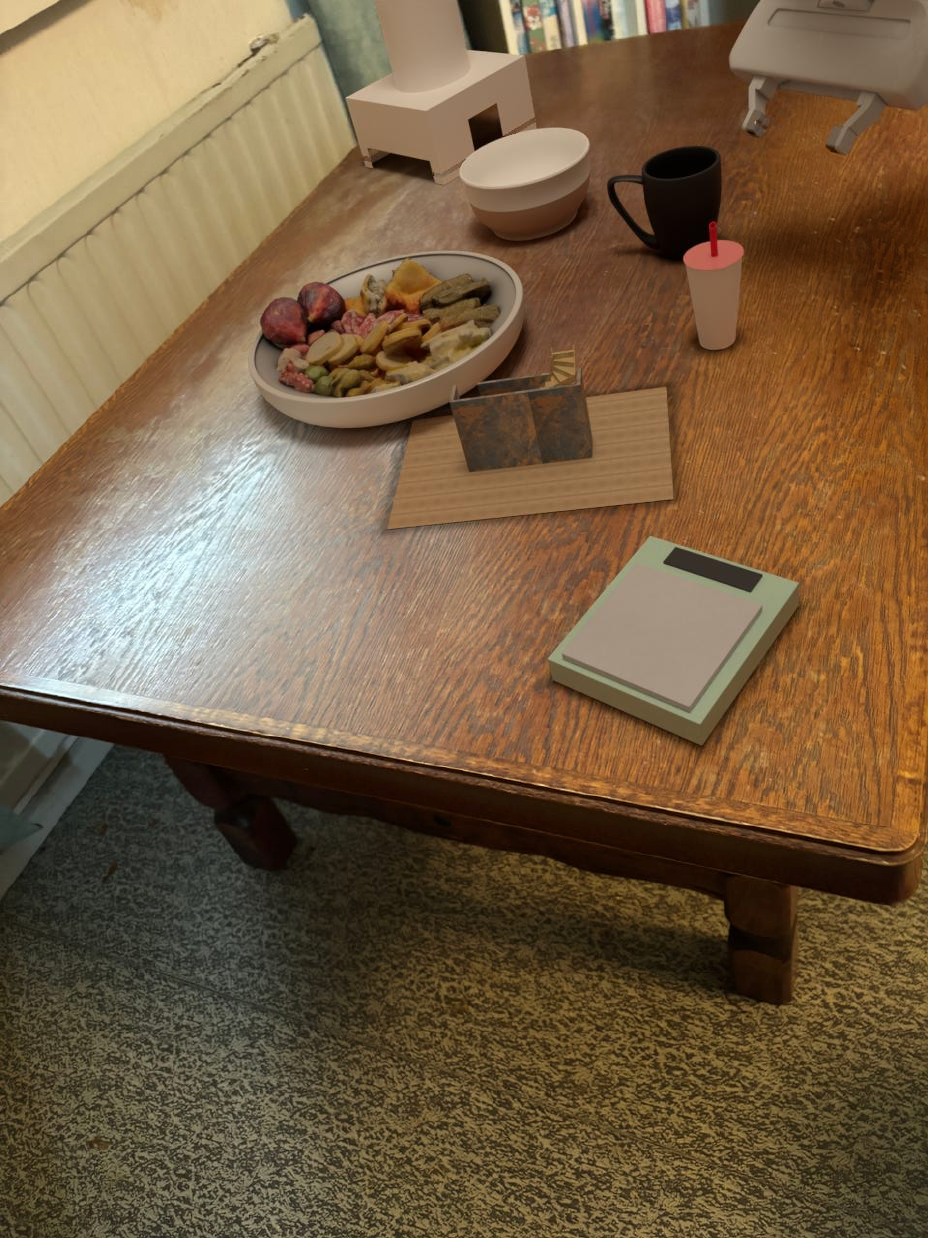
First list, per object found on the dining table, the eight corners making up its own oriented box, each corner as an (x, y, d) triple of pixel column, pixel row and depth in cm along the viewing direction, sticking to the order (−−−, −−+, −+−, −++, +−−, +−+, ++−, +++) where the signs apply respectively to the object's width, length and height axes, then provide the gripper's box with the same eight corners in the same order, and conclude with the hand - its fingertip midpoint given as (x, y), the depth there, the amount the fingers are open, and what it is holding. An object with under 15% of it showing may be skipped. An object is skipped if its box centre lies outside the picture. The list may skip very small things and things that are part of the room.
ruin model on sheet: (666, 386, 91) (657, 291, 84) (673, 499, 80) (664, 400, 73) (412, 420, 97) (385, 334, 90) (386, 529, 86) (353, 440, 79)
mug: (622, 236, 113) (612, 154, 107) (727, 226, 109) (724, 140, 103) (610, 271, 108) (599, 187, 102) (720, 263, 104) (716, 174, 97)
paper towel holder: (365, 166, 148) (297, -64, 127) (454, 115, 154) (404, -112, 133) (443, 184, 136) (383, -66, 115) (536, 128, 142) (495, -118, 121)
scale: (799, 606, 69) (799, 576, 67) (702, 746, 63) (699, 718, 61) (652, 557, 76) (649, 529, 74) (552, 680, 70) (545, 653, 68)
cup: (729, 359, 92) (725, 239, 83) (679, 350, 95) (670, 233, 86) (755, 329, 94) (753, 209, 86) (705, 321, 97) (698, 205, 89)
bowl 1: (557, 279, 109) (545, 211, 104) (491, 440, 90) (472, 367, 85) (324, 300, 120) (302, 239, 115) (220, 447, 101) (188, 383, 96)
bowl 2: (598, 180, 125) (590, 116, 120) (597, 237, 115) (588, 170, 109) (478, 202, 129) (465, 142, 124) (467, 260, 118) (451, 196, 113)
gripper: (758, -47, 87) (687, 110, 91) (966, -38, 74) (872, 145, 78) (791, -9, 92) (723, 139, 96) (993, 5, 78) (903, 177, 82)
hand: (791, 142), depth 87 cm, fingers open, 8 cm apart
